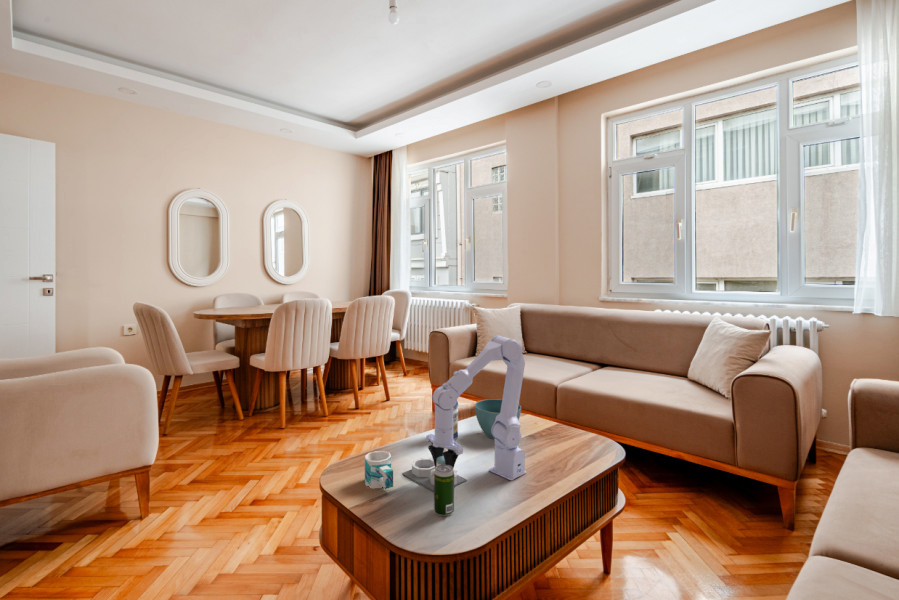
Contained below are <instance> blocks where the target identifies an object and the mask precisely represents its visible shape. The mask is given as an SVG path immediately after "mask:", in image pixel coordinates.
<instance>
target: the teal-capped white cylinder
mask: <svg viewBox="0 0 899 600" xmlns="http://www.w3.org/2000/svg"><path fill="white" fill-rule="evenodd" d="M439 465H445V459H444V456H440V457H438V458H437V466H439Z"/></svg>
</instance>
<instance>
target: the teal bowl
mask: <svg viewBox="0 0 899 600" xmlns="http://www.w3.org/2000/svg"><path fill="white" fill-rule="evenodd" d="M501 405H502V399H498V398H497V399H496V398H495V399H494V398H493V399H492V398H491V399H490V398H489V399H482V400H479V401H477V402H476V403H475V404H474V410H475V416H476V419H477V423H478V425H479V427H480V428H481V430H482V432H483V433H484V435H485V436H487V438H488V439H492V440H495V437H493V435H492V433H491V428H492V426H493V424H494V422H495V419H496V416H497V415H499V414H500V411H501ZM521 413H522V406H521V405H520V404H519V406H518V412H517V419H518V421H519V420H520V416H521ZM519 422H520V421H519Z"/></svg>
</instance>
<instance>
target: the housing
mask: <svg viewBox="0 0 899 600" xmlns="http://www.w3.org/2000/svg"><path fill="white" fill-rule="evenodd" d="M434 471H435V464H434V460H433V458H425V457H424V458H418V459H416V460H413V461H412V464H411V469H409V470H407V471H404V472H402V475H403V476H404V475H405V477H406V478H409V480H411V479H412V480H411V481H413V480H414V481H413V482H415V481H416V482H415V483H417V484H418V485H421V486H422V487H424V488H426V489H427V490H429V491H431V492H433V493H434ZM453 471H454V488H455V487H457V486H459V485H462V484H463V483H466V482H467V480H468V479H467V478H465V477H463V476H461V475H458V470H455V469H454V468H453Z"/></svg>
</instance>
